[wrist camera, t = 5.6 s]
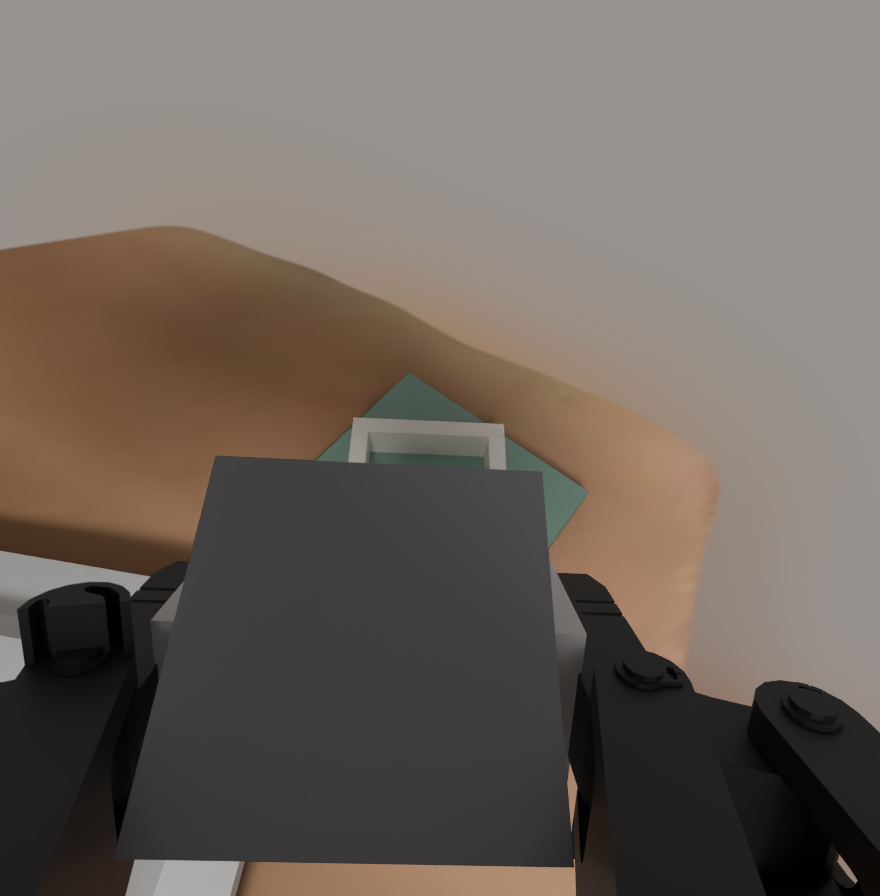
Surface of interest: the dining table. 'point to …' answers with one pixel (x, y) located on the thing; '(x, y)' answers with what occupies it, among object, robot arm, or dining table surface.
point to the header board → (447, 410)
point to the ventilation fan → (3, 591)
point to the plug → (359, 674)
